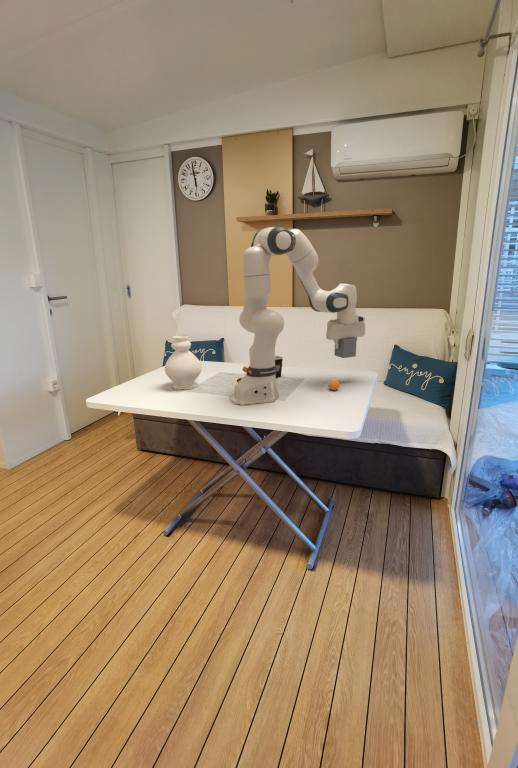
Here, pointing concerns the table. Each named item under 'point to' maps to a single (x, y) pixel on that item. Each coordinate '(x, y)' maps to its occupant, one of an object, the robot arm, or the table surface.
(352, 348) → the grey block
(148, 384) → the table surface
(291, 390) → the table surface
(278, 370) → the coffee mug
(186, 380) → the decorative vase
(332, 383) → the ball
